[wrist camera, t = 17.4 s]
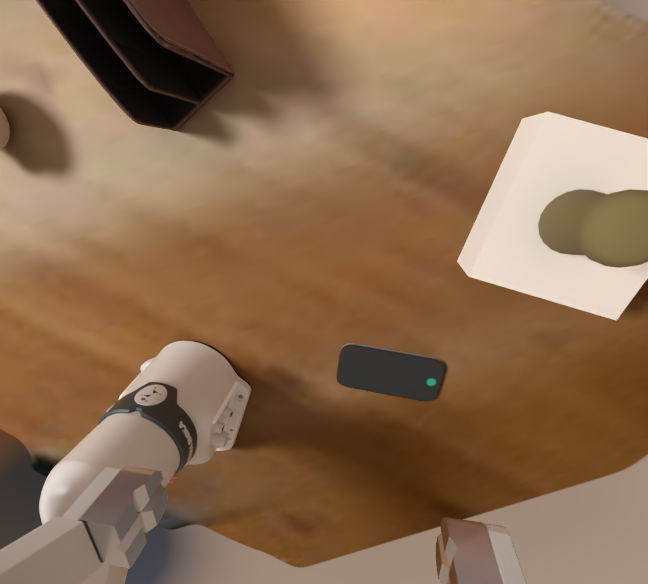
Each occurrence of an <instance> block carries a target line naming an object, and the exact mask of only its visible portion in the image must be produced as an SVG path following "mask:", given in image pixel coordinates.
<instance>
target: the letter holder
mask: <svg viewBox="0 0 648 584" xmlns="http://www.w3.org/2000/svg"><path fill="white" fill-rule="evenodd" d="M36 1H37V3H38V4H39V5H40V7H41V8H42V9H43V11H44V12H45V13H46V15H47V16H48V17H49V19H50V20H51V21H52V23H53V24H54V25H55V27H56V28H57V29H58V31H59V32H60V33H61V35H62V36H63V37H64V39H65V40H66V41H67V42H68V44H69V45H70V46H71V48H72V49H73V50H74V52H75V53H76V54H77V56H78V57H79V58H80V60H81V61H82V62H83V63H84V64H85V66H86V67H87V68H88V70H89V71H90V72H91V73H92V75H93V76H94V77H95V78H96V80H97V81H98V82H99V83H100V85H101V86H102V87H103V88H104V89H105V91H106V92H107V93H108V94H109V95H110V97H111V98H112V99H113V100H114V101H115V102H116V104H117V105H118V106H119V107H120V108H121V109H122V110H123V111H124V112H125V113H126V115H127V116H129V117H130V118H131V119H132V120H133V121H135V122H136V123H138V124H141V125H146V126H152V127H158V128H163V129H169V130H173V131H177V130H178V129H179V128H180V127H181V126H182V125H183V124H184V123H185V122H186V121H187V120H188V119H189V118H190V117H191V116H192V115H193V114H194V113H196V112H197V111H198V110H199V109H200V108H201V107H202V106H203V105H204V104H205V103H206V102H207V101H208V100H209V99H210V98H212V97H213V96H214V95H215V94H216V93H217V92H218V91H219V90H220V89H221V88H222V87H223V86H224V85H225V84H226V83H227V82H228V81H229V80H230V79H231V78H232V77H233V75H234V73H233V71H232V70H231V68H230V67H229V65H228V64H227V62H226V61H225V59H224V58H223V56H222V55H221V53H220V51H219V50H218V48H217V47H216V45H215V44H214V42H213V41H212V39H211V38H210V36H209V34H208V33H207V31H206V30H205V28H204V27H203V25H202V23H201V22H200V20H199V19H198V17H197V16H196V14H195V12H194V11H193V9H192V8H191V6H190V4H189V3H188V1H187V0H36Z"/></svg>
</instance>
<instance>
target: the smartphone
mask: <svg viewBox="0 0 648 584" xmlns="http://www.w3.org/2000/svg"><path fill="white" fill-rule="evenodd" d="M444 372H445V365H444V362H443V361H441V360H440V359H438V358H435V357H429V356H424V355H418V354H412V353H406V352H400V351H395V350H389V349H383V348H377V347H372V346H366V345H360V344H354V343H350V344H345V345H343V347H342V348H341V351H340V356H339V363H338V370H337V381H338V383H340V384H341V385H343V386H346V387H350V388H355V389H360V390H366V391H371V392H376V393H382V394H387V395H392V396H398V397H403V398H408V399H414V400H419V401H432V400H434V399H435V398H436V396H437V395H438V392H439V389H440V385H441V382H442V379H443V376H444Z"/></svg>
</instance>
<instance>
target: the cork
mask: <svg viewBox="0 0 648 584" xmlns="http://www.w3.org/2000/svg"><path fill="white" fill-rule="evenodd" d="M538 228H539V235H540V237H541V239H542V241H543V243H544V244H546V245H547V246H548V247H549V248H550V249H551V250H554V251H556V252H559V253H561V254H570V255H585V256H587V257H588V258H589V259H590V260H592V261H595V262H597V263H599V264H602V265H604V266H609V267H618V268H621V267H629V266H637V265H641V264H643V263H646V262H648V191H647V190H632V189H630V190H624V191H619V192H614V193H610V194H605V193H601V192H597V191H594V190H583V189H578V190H574V191H569V192H566V193H564V194H562V195H560V196H558V197H556V198H555V199H553V200H552V201H551V202H550V203H549V204H548V205H547V206H546V207H545V209H544V210H543V212H542V214H541V216H540V219H539V223H538Z"/></svg>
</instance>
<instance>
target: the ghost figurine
mask: <svg viewBox="0 0 648 584" xmlns="http://www.w3.org/2000/svg"><path fill="white" fill-rule="evenodd" d="M9 137H10V127H9V123H8V120H7V118H6V116H5V114H4V112H3V111H2V109H1V108H0V151H1V149H2V148H3V147H5V146H6V145H7V143H8V141H9Z"/></svg>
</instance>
